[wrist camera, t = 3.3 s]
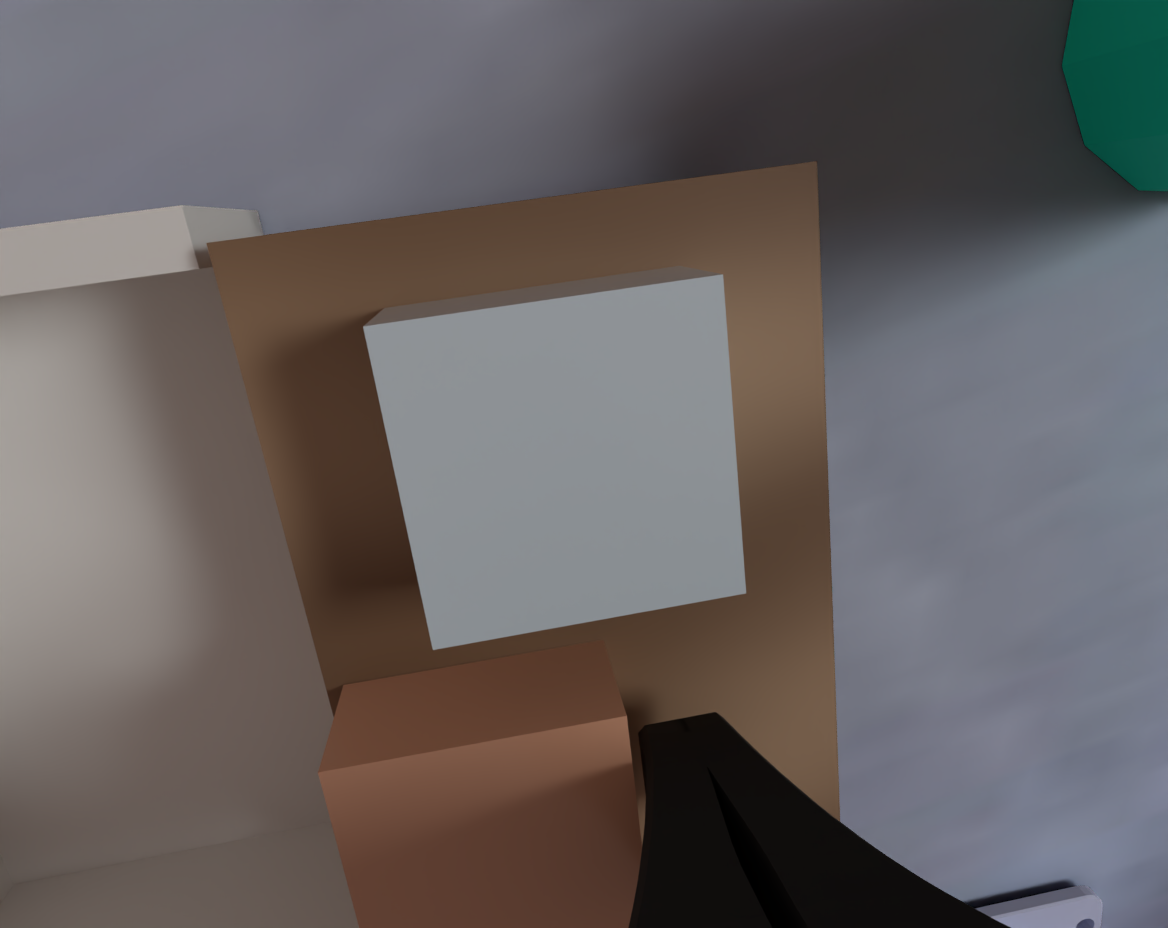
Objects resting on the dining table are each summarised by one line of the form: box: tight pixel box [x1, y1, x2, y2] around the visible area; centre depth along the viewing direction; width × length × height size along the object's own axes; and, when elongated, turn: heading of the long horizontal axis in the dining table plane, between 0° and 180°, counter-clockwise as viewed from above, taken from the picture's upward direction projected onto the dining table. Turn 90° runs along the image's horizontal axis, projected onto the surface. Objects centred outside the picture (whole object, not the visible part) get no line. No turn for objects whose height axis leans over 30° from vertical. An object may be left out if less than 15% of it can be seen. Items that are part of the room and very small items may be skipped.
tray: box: [0, 205, 359, 928], centre depth 13 cm, size 13×9×4 cm, turn 7°
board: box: [206, 161, 840, 844], centre depth 14 cm, size 12×8×4 cm, turn 7°
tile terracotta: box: [318, 640, 642, 928], centre depth 12 cm, size 4×4×2 cm
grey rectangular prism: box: [363, 266, 746, 650], centre depth 10 cm, size 4×4×2 cm
